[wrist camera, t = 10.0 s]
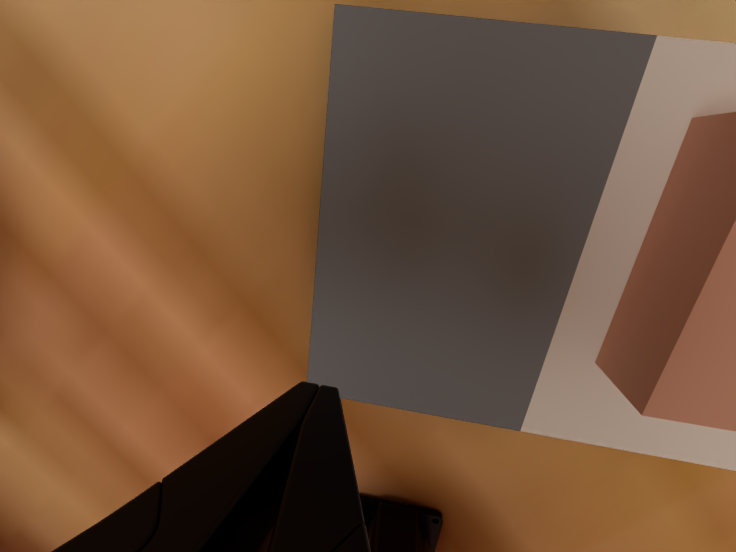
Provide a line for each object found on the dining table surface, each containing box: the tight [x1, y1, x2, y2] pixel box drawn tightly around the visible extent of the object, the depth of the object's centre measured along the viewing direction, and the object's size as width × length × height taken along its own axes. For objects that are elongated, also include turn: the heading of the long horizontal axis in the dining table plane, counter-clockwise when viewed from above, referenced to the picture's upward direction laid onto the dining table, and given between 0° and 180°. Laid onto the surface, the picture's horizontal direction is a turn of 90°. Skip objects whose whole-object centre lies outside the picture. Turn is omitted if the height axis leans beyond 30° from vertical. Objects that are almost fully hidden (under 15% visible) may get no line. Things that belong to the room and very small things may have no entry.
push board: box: [307, 4, 736, 471], centre depth 17 cm, size 20×29×1 cm
